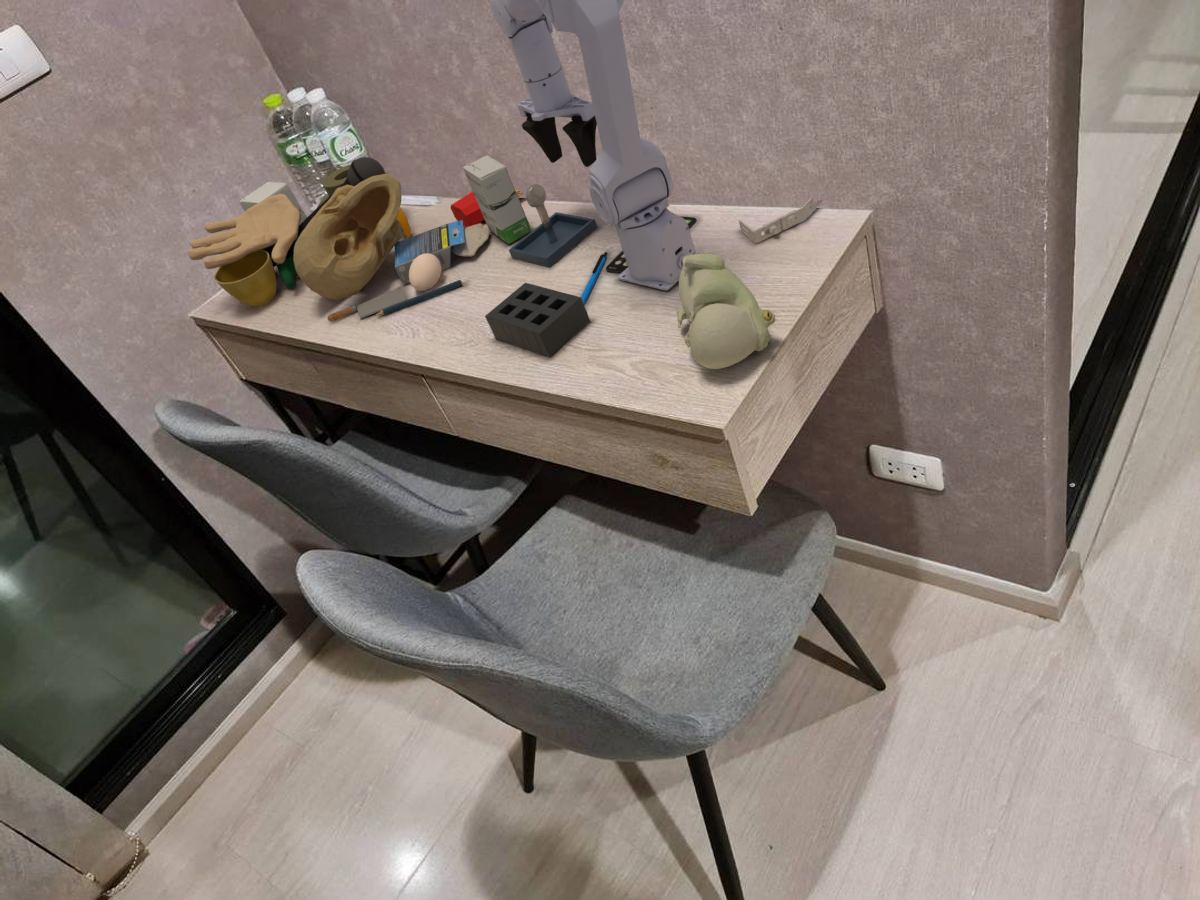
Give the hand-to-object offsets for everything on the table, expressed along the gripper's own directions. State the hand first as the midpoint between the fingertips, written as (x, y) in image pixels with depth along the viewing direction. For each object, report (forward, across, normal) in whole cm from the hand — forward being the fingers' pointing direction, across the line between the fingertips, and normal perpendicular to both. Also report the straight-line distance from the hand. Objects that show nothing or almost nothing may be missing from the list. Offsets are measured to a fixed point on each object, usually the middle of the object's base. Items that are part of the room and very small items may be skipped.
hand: (573, 161), depth 130 cm
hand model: (-1, -49, -24) cm, 54 cm away
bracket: (+9, +36, +15) cm, 41 cm away
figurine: (+5, +37, -21) cm, 42 cm away
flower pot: (+10, -51, -38) cm, 64 cm away
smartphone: (+11, +15, -3) cm, 19 cm away
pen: (+11, +13, -16) cm, 23 cm away
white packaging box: (+11, -60, -24) cm, 66 cm away
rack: (+10, +13, -25) cm, 30 cm away
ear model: (-4, -22, -23) cm, 32 cm away
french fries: (+8, -26, -8) cm, 28 cm away
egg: (+7, -18, -20) cm, 27 cm away
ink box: (+10, -14, -6) cm, 19 cm away
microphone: (+4, -49, -26) cm, 55 cm away
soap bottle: (+8, -58, -15) cm, 60 cm away
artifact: (+9, -22, -9) cm, 25 cm away
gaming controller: (+11, -46, -29) cm, 56 cm away
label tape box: (+8, -26, -22) cm, 35 cm away
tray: (+10, -2, -7) cm, 13 cm away
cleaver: (+10, -20, -33) cm, 40 cm away
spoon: (+10, -2, -7) cm, 12 cm away
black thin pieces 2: (+4, -57, -38) cm, 69 cm away
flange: (+1, -39, -14) cm, 42 cm away
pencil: (+10, -10, -21) cm, 25 cm away
